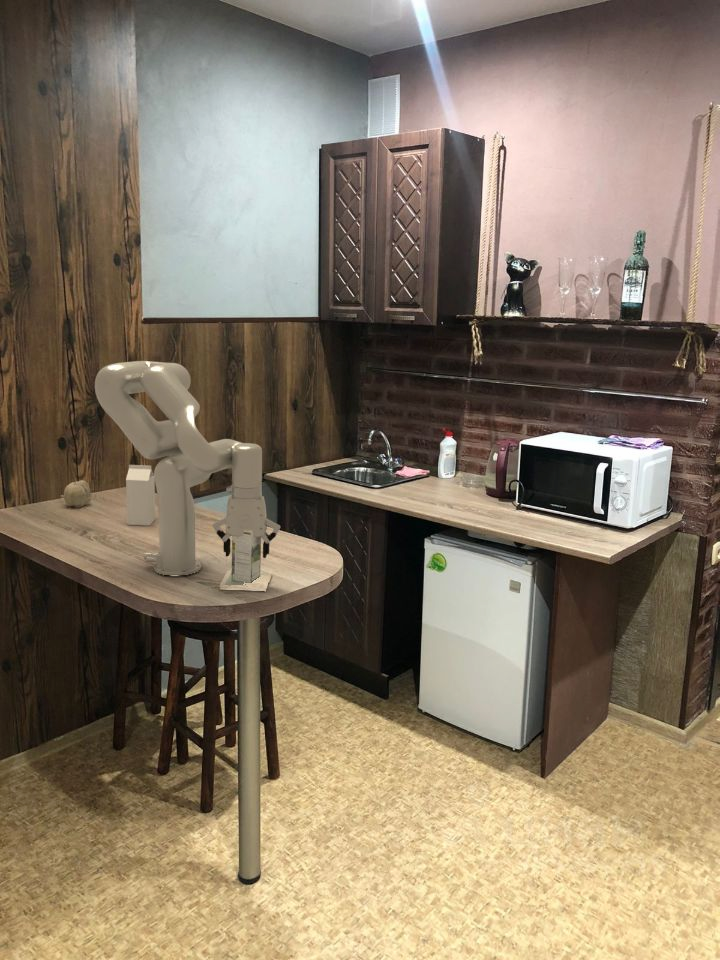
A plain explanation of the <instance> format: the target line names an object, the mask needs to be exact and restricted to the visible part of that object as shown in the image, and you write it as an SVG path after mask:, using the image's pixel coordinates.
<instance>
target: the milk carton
mask: <svg viewBox="0 0 720 960" xmlns="http://www.w3.org/2000/svg"><path fill="white" fill-rule="evenodd" d="M152 469H153V468H152V465H142V464H141V465H140V464H138V465H137V464H128V471H127V474H126V478H125V485H126V486H125V489H126V490H125V491H126V493H125V494H126V522H127V523H126V524H127V525H129V526H151V525H152V523H153V522H154V521H156V495H155V493H156V491H155V490H156V488H155V487H156V485H155V480H154V472H153V470H152Z"/></svg>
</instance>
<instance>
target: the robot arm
mask: <svg viewBox="0 0 720 960" xmlns="http://www.w3.org/2000/svg"><path fill="white" fill-rule="evenodd" d="M191 380H192V379H191V375H190V373H189V371H188V370H187V368H185V366H183V365H182V364H179V363H177V362H163V361H162V362H161V361H150V360H149V361H148V360H135V361H126V362H125V361H123V362H117V363H111V364H108V365H105V366H103V367H102V368H101V369H100V370H98V373H97V374H96V376H95V380H94V390H95V396H96V399H97V400H98V403H99V405H100V407H101V408H102V409H103V410H104V412H105V414H107V415H108V416H109V417H110V418H111V419H112V420H113V421H114V423H115V424H116V425H117V426H118V427H119V429H121V431H122V433H123V434H124V435H125V436H126V438H127V439H128V440H129V442H131V444H132V445H133V446H134V448H135V450H137V452H138V453H139V454H140V455H141V456H142V457H143V458H145V459H148V460H157V459H161V458H163V459H161V460H160V461H159V462H158V463H157V464H156V465H155V468H154V472H153V474H154V481H155V487H156V488H155V490H156V495H157V501H158V502H157V503H158V504H157V505H158V508H157V509H158V540H159V541H158V543H159V544H158V547H159V551H156V552H154V553H153V552H144V554H143V555H144V556H143V559H144V560H145V561H146V562H147V563H155V564H153V571H154V572H155V573H157V574H158V573H159V574H158V575H160V574H164V575H186V574H191V575H193V574H192V573H194V572H197V571H198V572H200V571H201V569H202V563H201V562H200V561H199V560H197V559H196V506H195V500H194V497H193V495H192V493H191V488H192V487H194V486H197V485H201V484H202V483H205V482H206V481H208V480H209V478H210V477H211V475H212V474H214V473H217V472H218V473H219V472H220V471H223V470H226V469H231V485H229V486H226V489H225V490H226V491H225V492H226V493H229V494H230V496H229V497H228V500H227V506H226V514H225V515H226V516H225V517H224V518H222V519H220V520H219V519H218V520H217V521H215V522H214V523H213V524H212V527H213V529H214V531H215V532H216V535H217V536H218V538H220V539H221V541H222V542H223V553H225V557H229V556H230V554H231V539H230V537H232V536H238V537H239V536H243V532H244V529H247V530H253V537H261V540H263V543H262V558H263V559H266V558H267V555H269V554H270V542H272V540H273V539H274V538H275V537H277V535H278V533H279V531H280V529H281V525H280V524H278V523H276V522H274V521H272V520H270V519H269V518H267V507H266V501H265V496H263V493H262V491H263V490H262V489H263V488H262V487H263V484H262V483H263V482H262V481H263V480H262V479H263V449H262V447H261V446H260V445H259V444H257V443H249V442H241V441H237V440H235V439H230V438H223V439H220V440H215V441H211V442H208V441H207V440H206V438H205V437H204V436H203V435H202V434H201V432H200V431H199V429H198V428H197V426H196V425H197V424H196V422H195V419H196V416H197V415H198V414H199V412H200V409H201V408H200V407H201V406H200V403H199V402H198V401H197V400H196V398H195V397H194V396H193V395H192V394H191V392H189V391H188V390H189V388H190V386H191V382H192V381H191ZM137 393H139V394H140V393H146V394H147V395H148V396H149V398H150V399H151V400H152V402H154V404H155V405H156V406H157V407H158V408H159V409H160V411H161V412H163V414H164V415H165V417H166V418H167V420H161V421H158V420H156V419H155V418H154V417H153V415H151V414H150V412H149V411H148V410H147V408H146V407H145V406H144V405H143V404H142V403H140V402H139V401H138V400H136V399H135V398H133V397H131V395H130V394H137ZM224 525H225V531H224V530H222V528H221V526H224ZM268 527H270V528H271V529H273V530H272V532H271V533H270V534H269V533H268V532H267V528H268ZM199 570H200V571H199ZM198 572H197V573H198ZM194 574H195V573H194ZM164 575H163V576H164Z"/></svg>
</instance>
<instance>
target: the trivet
mask: <svg viewBox="0 0 720 960" xmlns="http://www.w3.org/2000/svg"><path fill="white" fill-rule="evenodd" d="M231 572H232V570H227V571H226V573H225V574H224V577H223V578H222V581H221V582H220V584H219V586H218V588H219V587H220V586H224V585H228V586H231V585H243V584H244V582H239V581H233V580H231V574H232V573H231ZM260 572H261V573H260V577H261V575H264V574H265V573H262V572H263V571H260ZM221 584H222V585H221ZM245 585H246V584H245ZM226 587H227V586H226Z"/></svg>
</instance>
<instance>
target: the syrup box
mask: <svg viewBox="0 0 720 960" xmlns="http://www.w3.org/2000/svg"><path fill="white" fill-rule="evenodd" d="M231 537H232V538H231V571H232V572H231V573H232V574H231V580H233V581H239V582H245V583H252V582H253V581H254V580H256V579H257V578H259V577H260V572H261V561H262V560H261V558H262V557H261V555H262V554H261V553H262V538H261V537H253V530H247V529H244V532H243V536H239V537H238V536H231Z"/></svg>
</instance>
